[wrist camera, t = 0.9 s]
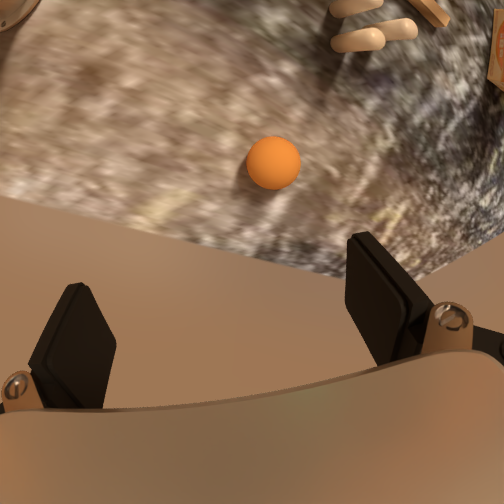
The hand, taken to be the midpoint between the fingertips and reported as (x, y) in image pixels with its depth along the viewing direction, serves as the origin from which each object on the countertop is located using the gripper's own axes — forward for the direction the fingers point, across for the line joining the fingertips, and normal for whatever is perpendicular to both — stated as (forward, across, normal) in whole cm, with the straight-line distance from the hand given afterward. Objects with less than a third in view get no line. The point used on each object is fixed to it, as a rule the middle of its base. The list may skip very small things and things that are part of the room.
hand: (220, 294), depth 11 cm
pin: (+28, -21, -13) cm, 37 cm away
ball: (+25, -6, +2) cm, 26 cm away
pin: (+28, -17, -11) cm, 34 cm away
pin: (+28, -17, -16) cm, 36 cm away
